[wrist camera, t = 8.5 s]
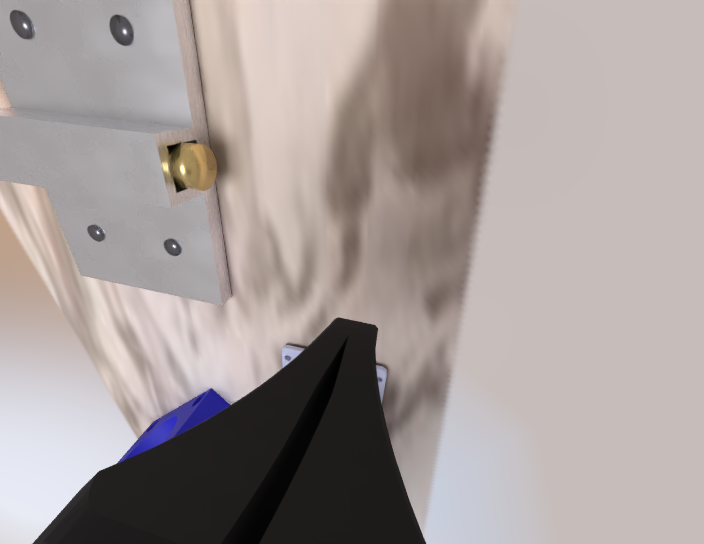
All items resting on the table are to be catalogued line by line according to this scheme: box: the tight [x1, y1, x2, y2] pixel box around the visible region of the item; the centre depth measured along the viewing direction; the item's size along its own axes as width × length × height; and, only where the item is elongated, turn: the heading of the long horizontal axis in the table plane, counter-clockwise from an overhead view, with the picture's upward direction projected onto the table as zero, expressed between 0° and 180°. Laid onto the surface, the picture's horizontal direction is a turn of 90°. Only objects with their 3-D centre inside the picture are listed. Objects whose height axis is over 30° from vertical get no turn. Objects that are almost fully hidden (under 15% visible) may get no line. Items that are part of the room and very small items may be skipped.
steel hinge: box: [0, 0, 232, 306], centre depth 18 cm, size 12×20×4 cm, turn 176°
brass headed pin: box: [167, 142, 217, 191], centre depth 18 cm, size 13×2×2 cm, turn 86°
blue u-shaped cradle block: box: [118, 388, 230, 463], centre depth 31 cm, size 12×4×6 cm, turn 131°
